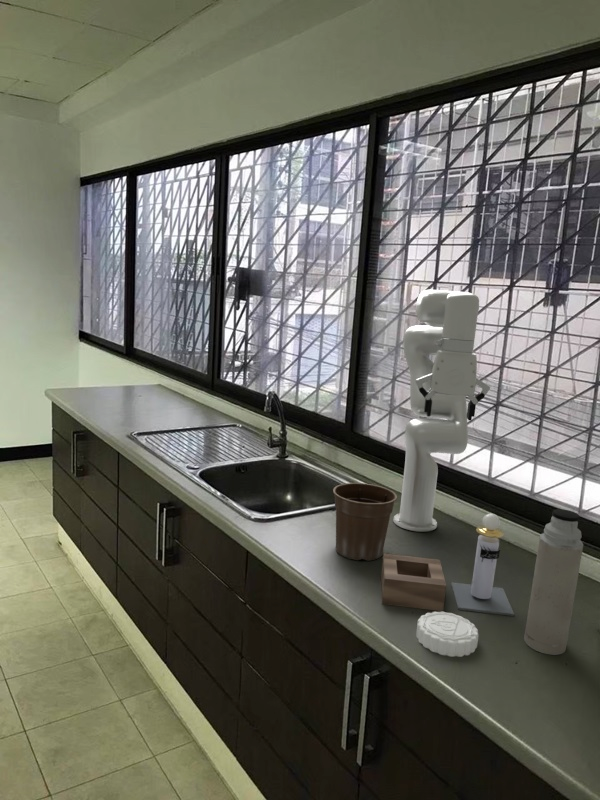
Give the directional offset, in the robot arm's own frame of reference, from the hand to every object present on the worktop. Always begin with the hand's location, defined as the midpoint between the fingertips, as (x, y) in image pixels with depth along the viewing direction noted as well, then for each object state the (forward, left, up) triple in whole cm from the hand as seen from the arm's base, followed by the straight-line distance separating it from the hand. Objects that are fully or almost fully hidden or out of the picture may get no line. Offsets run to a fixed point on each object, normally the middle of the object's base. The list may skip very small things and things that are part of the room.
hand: (448, 417), depth 156 cm
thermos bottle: (+31, +20, -38) cm, 53 cm away
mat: (+15, +10, -38) cm, 42 cm away
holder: (+16, -6, -38) cm, 42 cm away
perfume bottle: (+15, +10, -38) cm, 42 cm away
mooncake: (+34, 0, -39) cm, 52 cm away
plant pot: (-4, -18, -38) cm, 43 cm away
